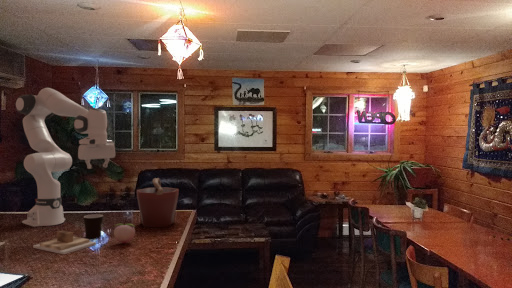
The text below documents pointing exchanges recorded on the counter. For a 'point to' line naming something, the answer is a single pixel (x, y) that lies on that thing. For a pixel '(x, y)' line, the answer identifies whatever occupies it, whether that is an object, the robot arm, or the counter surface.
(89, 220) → the coffee mug
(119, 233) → the decorative fruit
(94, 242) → the rubber mat
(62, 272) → the counter surface
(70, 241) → the birch lid
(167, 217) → the bucket
